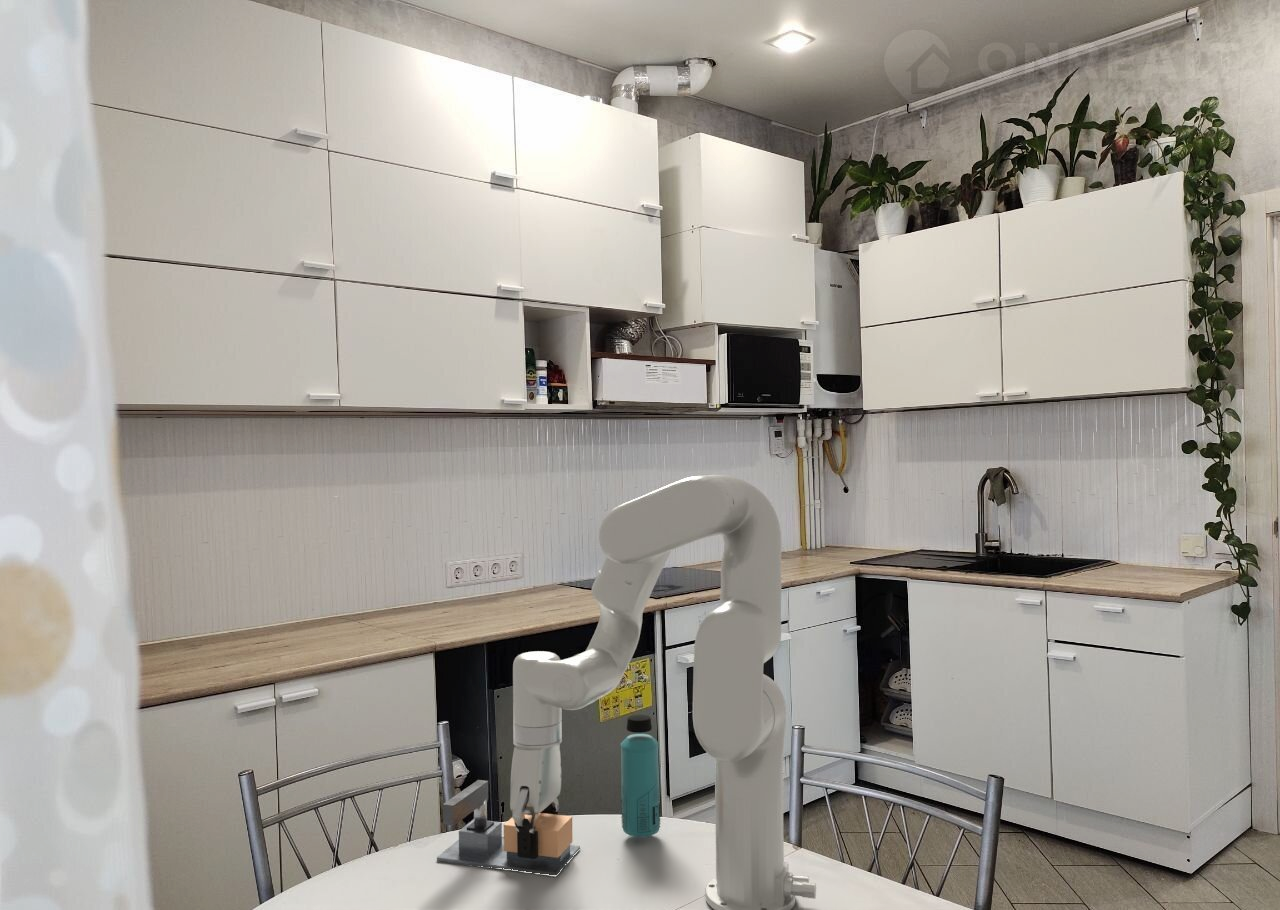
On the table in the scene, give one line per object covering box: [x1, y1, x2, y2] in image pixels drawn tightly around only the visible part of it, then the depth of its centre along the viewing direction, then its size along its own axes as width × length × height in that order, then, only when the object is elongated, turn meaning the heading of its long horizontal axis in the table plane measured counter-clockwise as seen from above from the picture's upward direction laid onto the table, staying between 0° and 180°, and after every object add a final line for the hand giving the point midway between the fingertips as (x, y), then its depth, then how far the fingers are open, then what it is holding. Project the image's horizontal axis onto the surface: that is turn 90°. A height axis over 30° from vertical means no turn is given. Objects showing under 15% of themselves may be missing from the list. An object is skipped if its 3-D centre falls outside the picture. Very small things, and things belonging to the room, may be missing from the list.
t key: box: [442, 779, 489, 827], centre depth 140 cm, size 11×2×6 cm, turn 162°
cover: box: [503, 813, 573, 858], centre depth 142 cm, size 9×6×4 cm, turn 73°
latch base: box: [436, 818, 581, 875], centre depth 143 cm, size 20×10×4 cm, turn 73°
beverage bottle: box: [620, 714, 662, 838], centre depth 149 cm, size 6×7×20 cm
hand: (538, 845), depth 142 cm, fingers open, 7 cm apart
